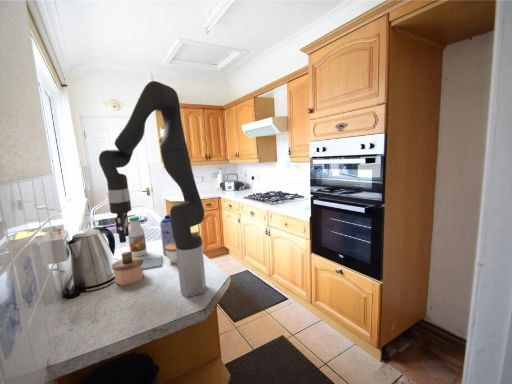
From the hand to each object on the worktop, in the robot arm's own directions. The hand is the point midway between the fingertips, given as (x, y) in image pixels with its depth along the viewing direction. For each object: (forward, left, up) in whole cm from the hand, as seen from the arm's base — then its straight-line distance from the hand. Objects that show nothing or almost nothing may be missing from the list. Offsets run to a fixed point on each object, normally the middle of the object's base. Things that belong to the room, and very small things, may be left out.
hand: (124, 239), depth 105 cm
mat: (+12, -7, -17) cm, 22 cm away
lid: (0, 0, -11) cm, 11 cm away
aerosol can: (+22, -17, -17) cm, 33 cm away
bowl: (0, 0, -17) cm, 17 cm away
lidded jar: (+10, -20, -17) cm, 28 cm away
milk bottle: (+28, -1, -17) cm, 33 cm away
